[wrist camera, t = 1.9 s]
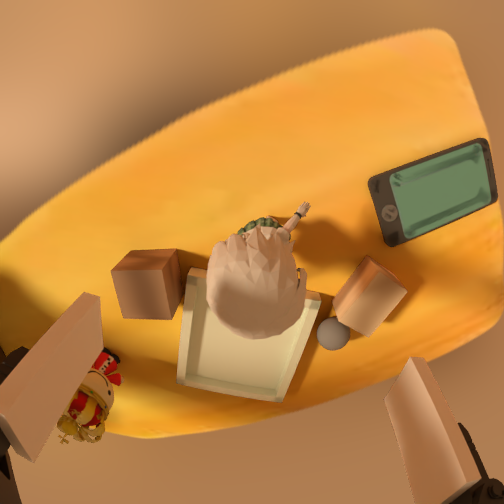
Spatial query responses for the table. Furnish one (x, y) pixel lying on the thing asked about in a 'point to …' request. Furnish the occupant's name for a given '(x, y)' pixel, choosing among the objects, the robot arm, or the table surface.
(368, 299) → the maple block
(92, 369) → the toy
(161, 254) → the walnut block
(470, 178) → the smartphone
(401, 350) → the table surface
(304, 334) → the tray
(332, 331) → the grey ball
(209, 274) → the figurine
